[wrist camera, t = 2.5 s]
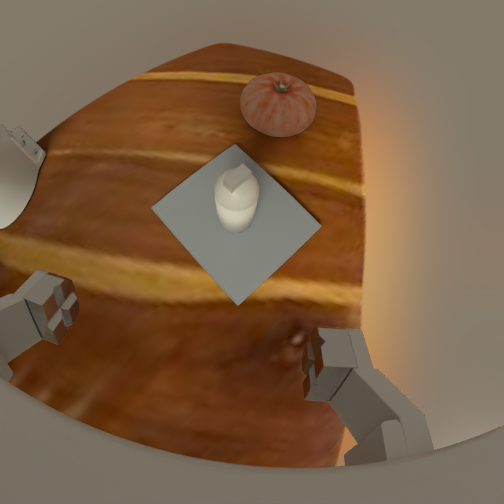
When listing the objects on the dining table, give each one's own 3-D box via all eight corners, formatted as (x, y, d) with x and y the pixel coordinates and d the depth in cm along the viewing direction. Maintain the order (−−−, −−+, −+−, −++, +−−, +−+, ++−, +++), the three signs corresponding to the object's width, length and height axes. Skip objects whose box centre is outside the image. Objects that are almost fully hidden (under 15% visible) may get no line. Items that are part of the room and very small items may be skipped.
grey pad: (153, 210, 34) (151, 207, 33) (234, 147, 37) (234, 143, 36) (237, 306, 32) (238, 305, 31) (319, 228, 35) (321, 226, 34)
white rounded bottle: (209, 214, 33) (202, 173, 24) (237, 192, 34) (239, 146, 25) (234, 240, 33) (235, 207, 23) (261, 216, 34) (272, 177, 24)
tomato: (294, 160, 37) (307, 125, 29) (225, 130, 38) (225, 92, 30) (318, 113, 40) (332, 79, 32) (257, 88, 40) (262, 52, 33)
